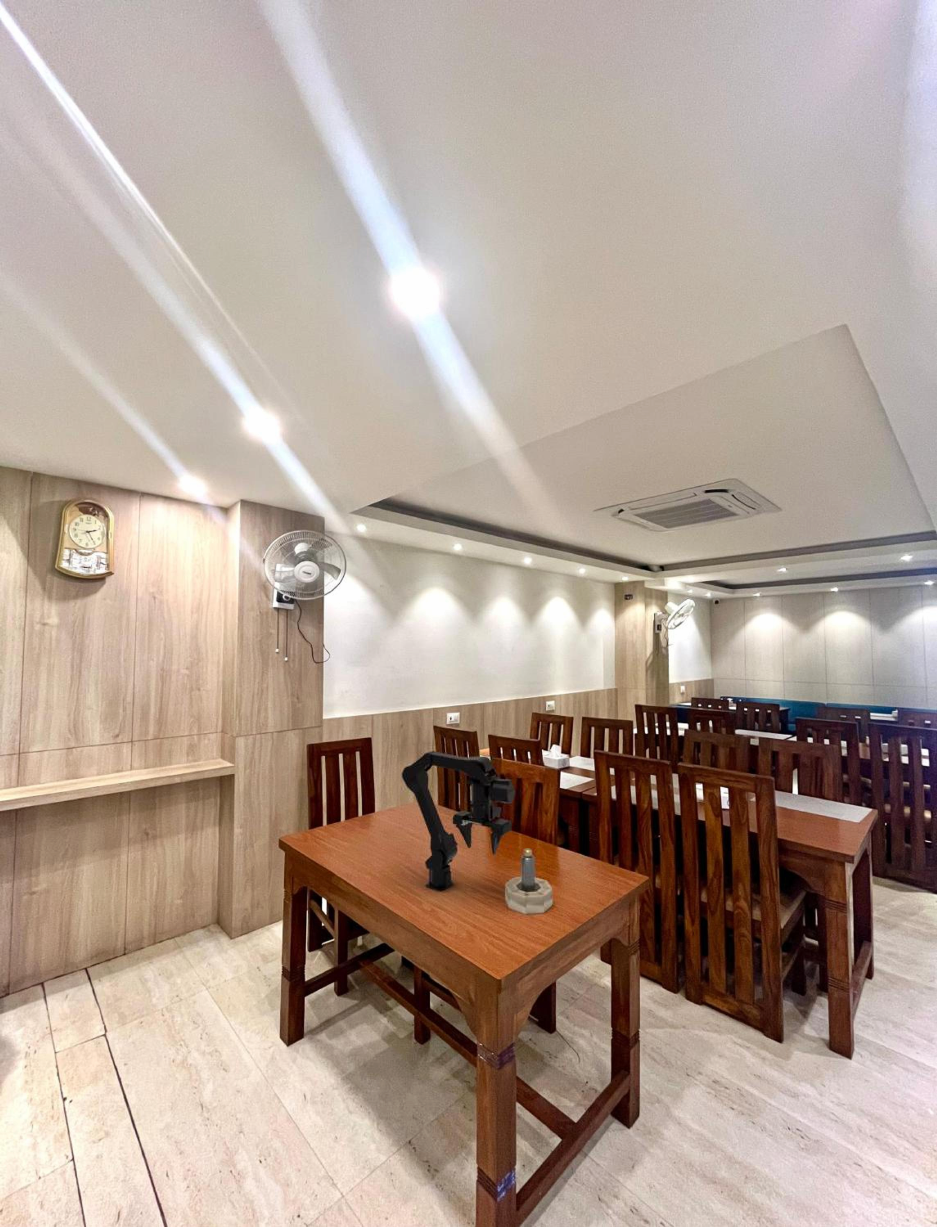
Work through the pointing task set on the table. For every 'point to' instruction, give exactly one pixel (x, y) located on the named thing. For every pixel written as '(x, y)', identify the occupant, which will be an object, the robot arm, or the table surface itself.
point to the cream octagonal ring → (528, 896)
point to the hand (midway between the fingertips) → (481, 850)
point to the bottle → (528, 871)
